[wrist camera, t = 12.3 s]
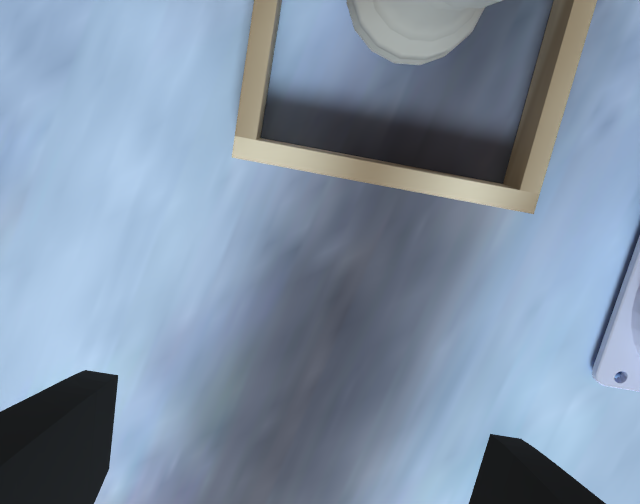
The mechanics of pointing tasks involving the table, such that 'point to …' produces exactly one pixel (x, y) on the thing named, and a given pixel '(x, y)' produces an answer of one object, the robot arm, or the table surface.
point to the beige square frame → (515, 193)
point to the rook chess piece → (415, 26)
